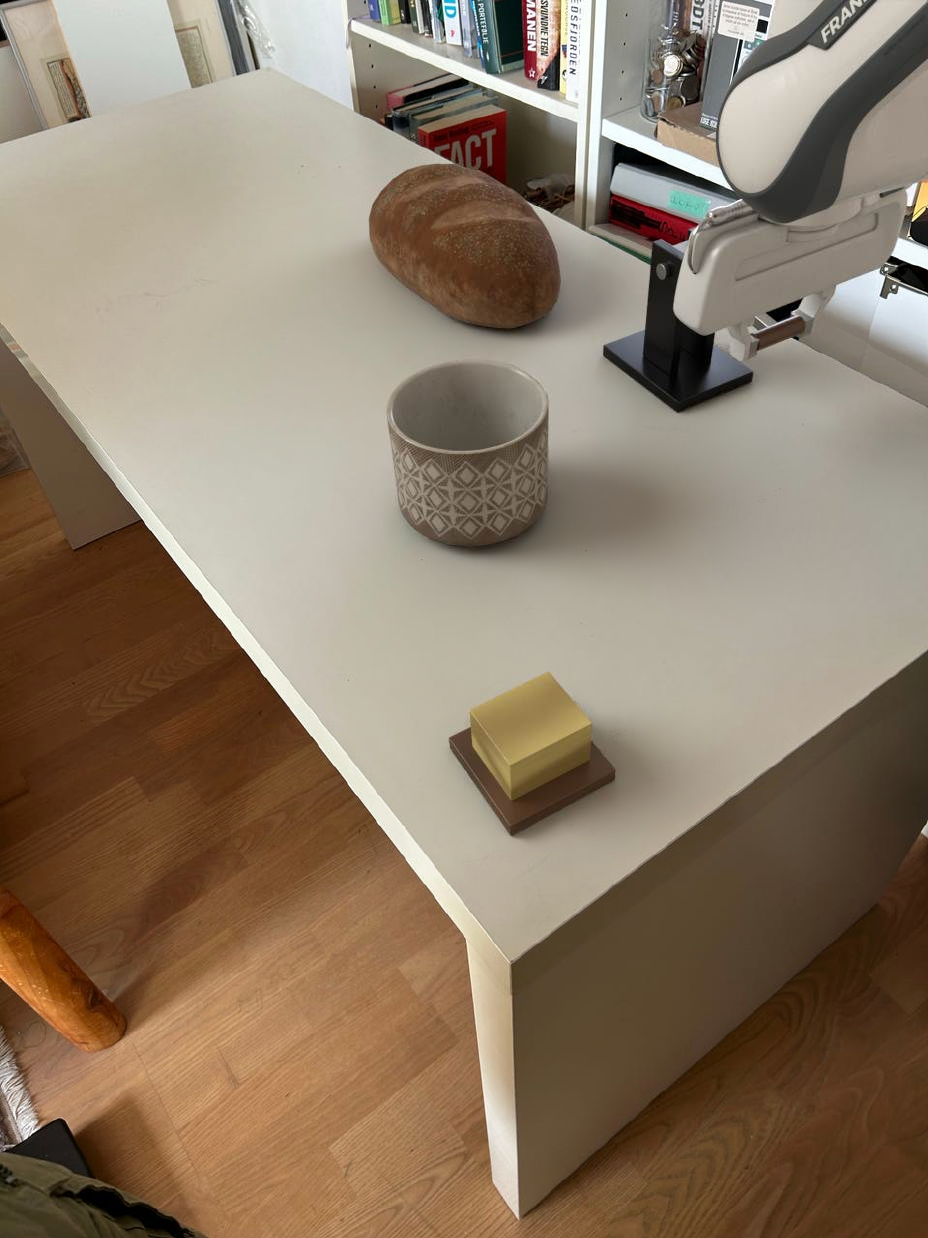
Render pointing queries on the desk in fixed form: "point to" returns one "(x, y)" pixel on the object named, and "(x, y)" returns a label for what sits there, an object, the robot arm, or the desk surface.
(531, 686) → the butter
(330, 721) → the desk surface
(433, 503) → the planter
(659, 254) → the slicer
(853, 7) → the robot arm
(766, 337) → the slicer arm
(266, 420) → the desk surface
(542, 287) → the bread
